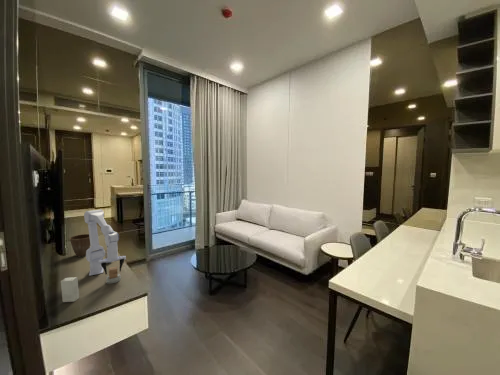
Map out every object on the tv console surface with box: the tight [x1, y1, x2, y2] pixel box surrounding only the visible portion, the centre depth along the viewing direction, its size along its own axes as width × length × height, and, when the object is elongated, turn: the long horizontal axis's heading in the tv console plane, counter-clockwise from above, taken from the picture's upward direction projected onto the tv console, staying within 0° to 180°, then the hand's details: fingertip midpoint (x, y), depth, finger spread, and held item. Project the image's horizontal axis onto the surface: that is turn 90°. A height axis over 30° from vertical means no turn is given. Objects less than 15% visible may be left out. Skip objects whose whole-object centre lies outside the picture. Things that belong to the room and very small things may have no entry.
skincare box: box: [60, 276, 80, 303], centre depth 118 cm, size 6×4×12 cm
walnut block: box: [108, 266, 119, 279], centre depth 139 cm, size 4×4×6 cm
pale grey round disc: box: [105, 273, 122, 284], centre depth 140 cm, size 8×8×3 cm
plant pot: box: [69, 233, 91, 257], centre depth 183 cm, size 15×15×16 cm
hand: (113, 272), depth 139 cm, fingers open, 7 cm apart
